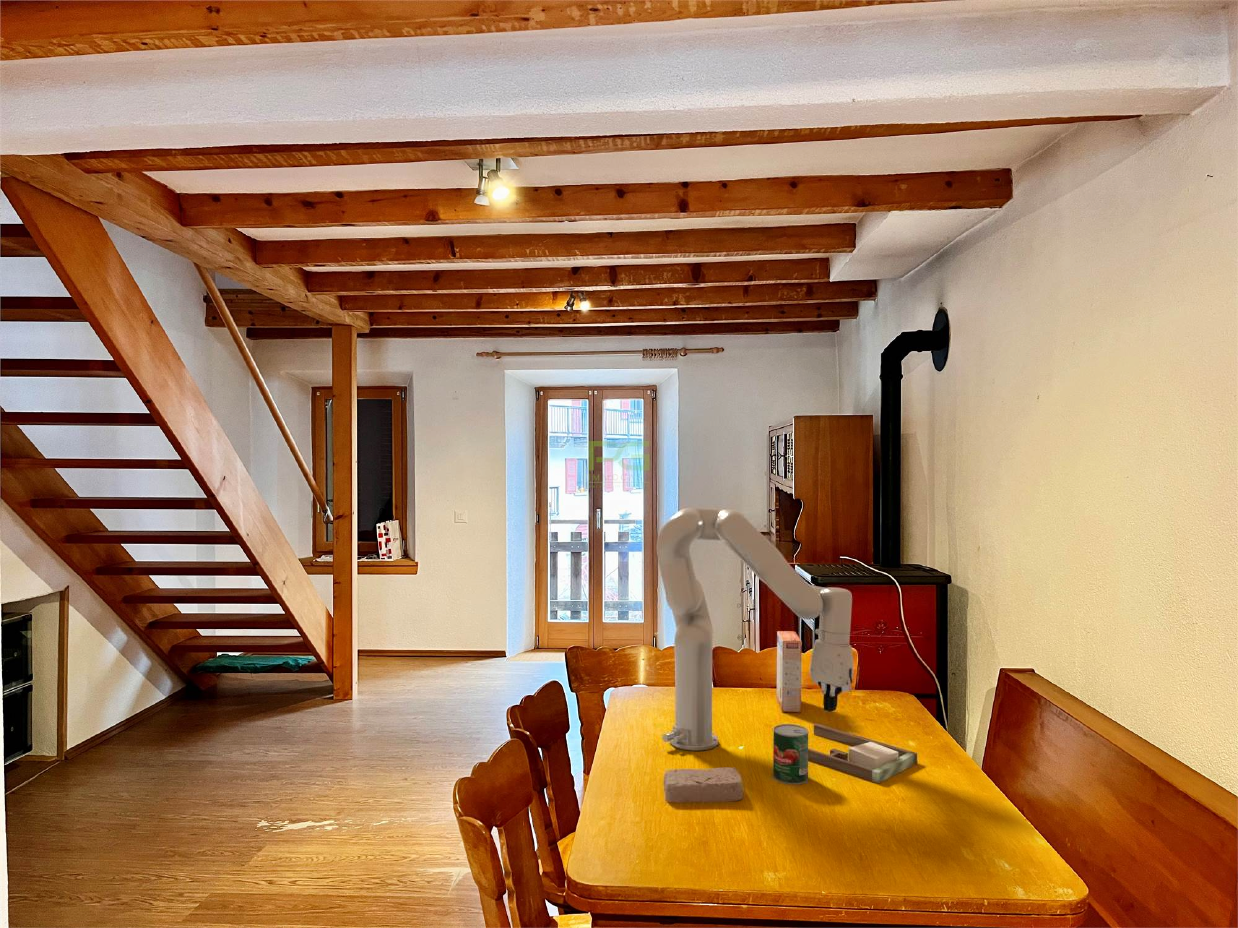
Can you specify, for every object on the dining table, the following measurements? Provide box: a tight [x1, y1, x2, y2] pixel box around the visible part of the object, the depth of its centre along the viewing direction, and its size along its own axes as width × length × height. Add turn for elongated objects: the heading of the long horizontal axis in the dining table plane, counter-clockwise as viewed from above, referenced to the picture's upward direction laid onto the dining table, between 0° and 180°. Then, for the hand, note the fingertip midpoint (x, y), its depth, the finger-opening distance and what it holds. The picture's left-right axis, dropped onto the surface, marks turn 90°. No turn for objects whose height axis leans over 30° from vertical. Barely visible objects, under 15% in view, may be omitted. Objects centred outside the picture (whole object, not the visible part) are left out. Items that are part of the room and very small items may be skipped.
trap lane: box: [808, 723, 918, 784], centre depth 187 cm, size 18×28×2 cm, turn 42°
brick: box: [663, 767, 744, 803], centre depth 165 cm, size 17×8×5 cm, turn 92°
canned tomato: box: [772, 723, 810, 786], centre depth 174 cm, size 8×8×11 cm
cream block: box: [847, 742, 898, 770], centre depth 181 cm, size 8×8×4 cm
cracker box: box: [776, 630, 803, 713], centre depth 227 cm, size 14×6×21 cm, turn 174°
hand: (829, 709), depth 192 cm, fingers closed
